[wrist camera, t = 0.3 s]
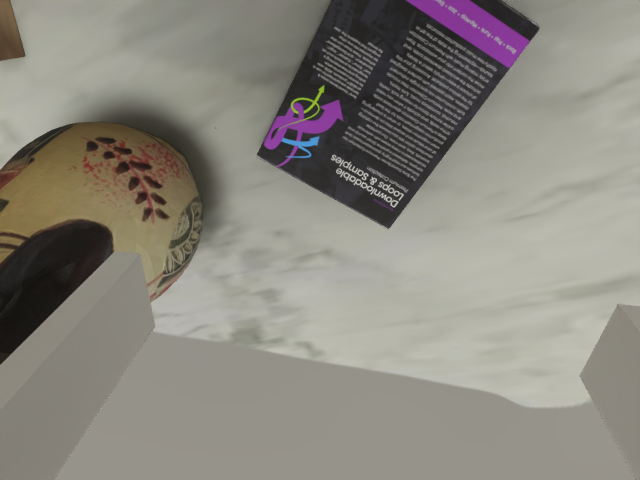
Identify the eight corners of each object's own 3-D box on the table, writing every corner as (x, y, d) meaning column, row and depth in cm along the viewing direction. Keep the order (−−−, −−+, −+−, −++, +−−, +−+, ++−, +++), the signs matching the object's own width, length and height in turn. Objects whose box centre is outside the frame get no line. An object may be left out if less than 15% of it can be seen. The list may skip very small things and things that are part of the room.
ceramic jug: (139, 264, 47) (-137, 583, 22) (43, 143, 41) (-509, 391, 15) (267, 212, 42) (102, 550, 17) (179, 64, 36) (-312, 239, 10)
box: (374, -81, 30) (261, 146, 39) (374, -92, 27) (251, 158, 36) (527, 25, 32) (386, 218, 41) (543, 27, 29) (386, 234, 38)
